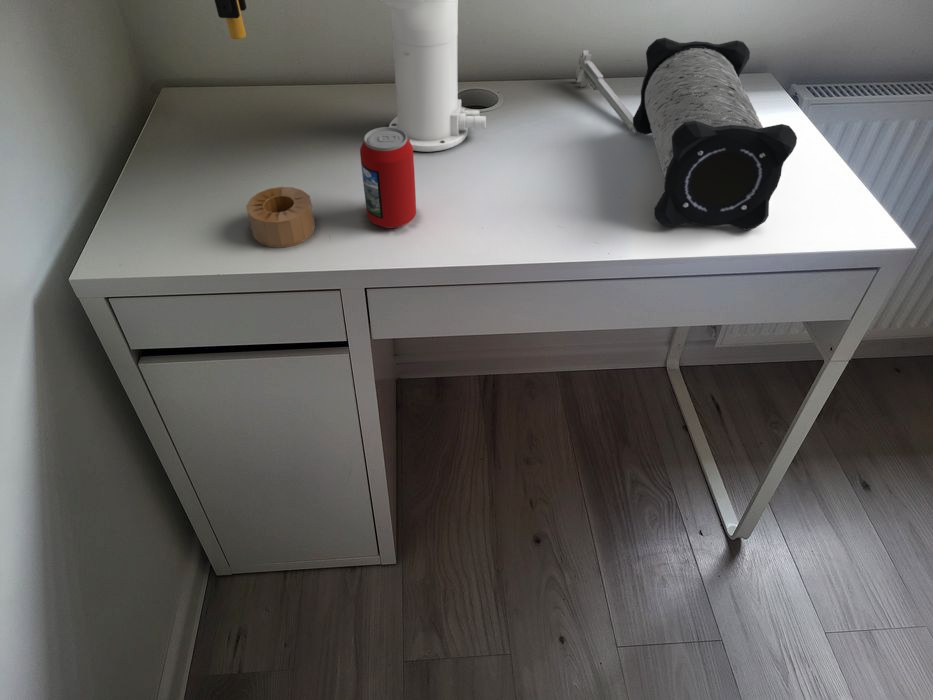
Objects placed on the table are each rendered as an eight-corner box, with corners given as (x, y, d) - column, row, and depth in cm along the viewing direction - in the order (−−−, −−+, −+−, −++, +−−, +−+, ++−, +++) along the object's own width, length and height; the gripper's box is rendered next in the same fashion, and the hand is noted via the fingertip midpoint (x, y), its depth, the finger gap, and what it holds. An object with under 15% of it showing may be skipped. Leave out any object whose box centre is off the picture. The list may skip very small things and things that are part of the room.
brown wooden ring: (321, 213, 98) (317, 188, 95) (306, 249, 92) (301, 223, 89) (263, 210, 98) (257, 185, 96) (245, 245, 93) (238, 220, 90)
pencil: (248, 33, 112) (234, -29, 106) (243, 39, 110) (228, -23, 104) (233, 33, 112) (218, -29, 106) (228, 39, 110) (213, -24, 104)
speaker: (722, 130, 114) (750, 36, 104) (765, 237, 94) (806, 133, 84) (629, 127, 115) (647, 32, 104) (652, 232, 95) (678, 128, 84)
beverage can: (367, 205, 99) (358, 125, 91) (415, 203, 100) (411, 123, 91) (367, 233, 95) (357, 151, 86) (417, 231, 95) (413, 149, 87)
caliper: (574, 83, 127) (578, 47, 123) (580, 82, 128) (584, 46, 123) (635, 134, 114) (642, 97, 110) (641, 133, 114) (648, 96, 110)
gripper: (205, -115, 90) (240, 34, 103) (245, -141, 101) (271, -5, 114) (148, -115, 90) (190, 33, 103) (194, -142, 102) (226, -5, 115)
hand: (232, 12), depth 109 cm, fingers closed on pencil, 2 cm apart
